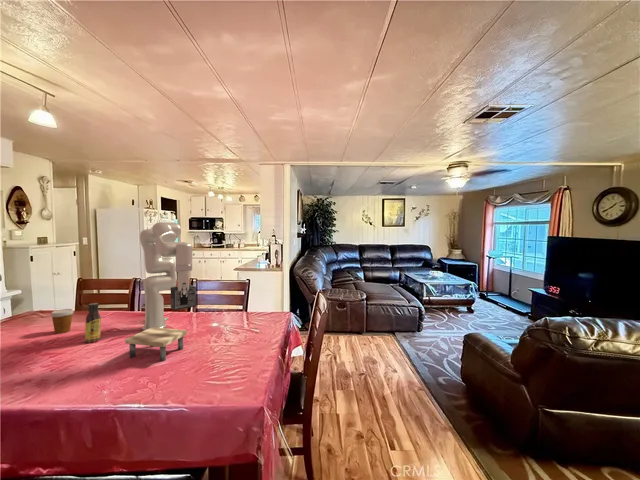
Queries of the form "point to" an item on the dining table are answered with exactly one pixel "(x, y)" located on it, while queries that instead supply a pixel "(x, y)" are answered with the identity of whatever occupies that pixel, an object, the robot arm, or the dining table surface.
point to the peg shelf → (156, 340)
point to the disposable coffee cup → (62, 320)
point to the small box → (176, 296)
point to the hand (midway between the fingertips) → (183, 302)
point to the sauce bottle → (93, 324)
